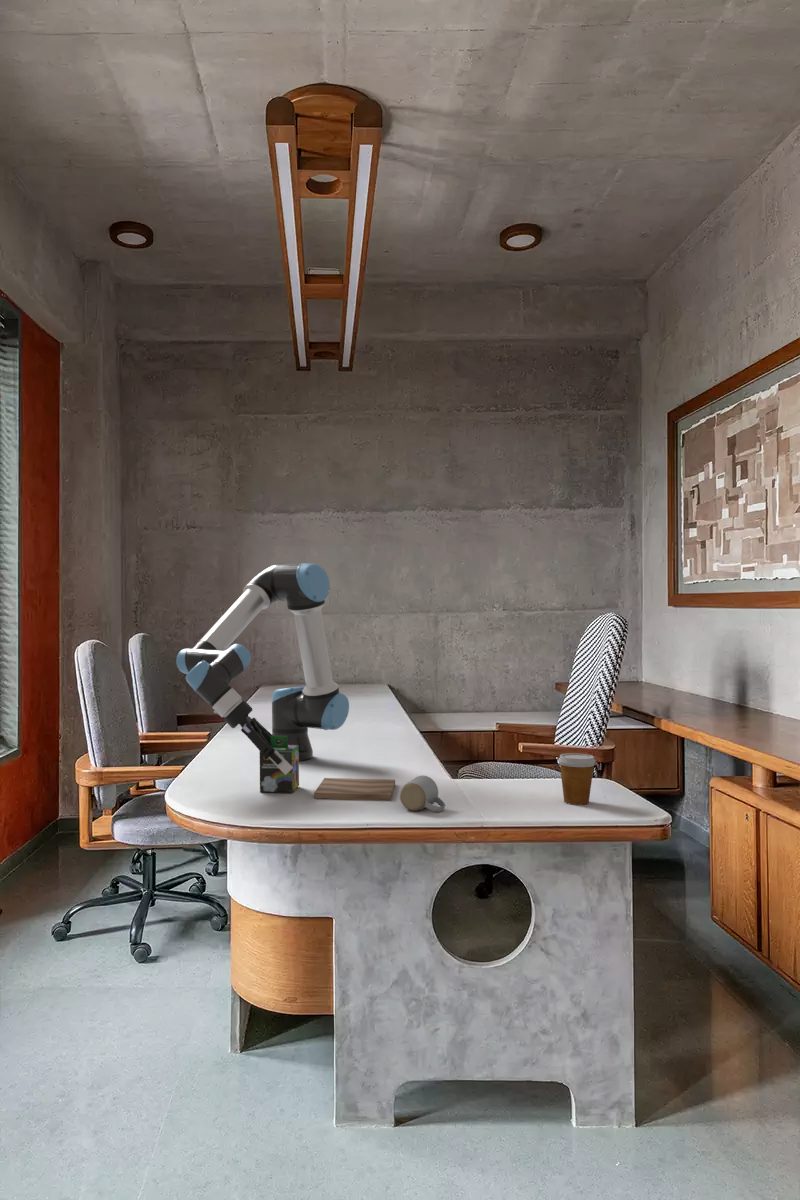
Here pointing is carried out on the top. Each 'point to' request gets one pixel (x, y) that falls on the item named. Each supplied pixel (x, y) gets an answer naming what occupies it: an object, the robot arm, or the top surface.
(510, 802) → the top surface
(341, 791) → the walnut board
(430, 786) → the ceramic mug
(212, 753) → the top surface
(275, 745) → the chalk box
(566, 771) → the disposable coffee cup
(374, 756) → the top surface
